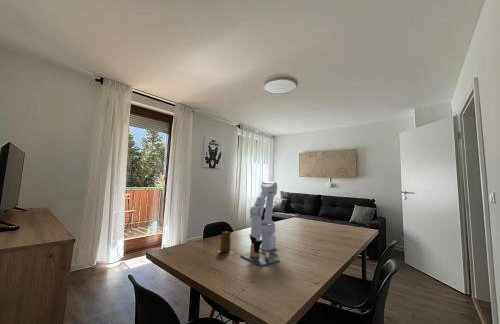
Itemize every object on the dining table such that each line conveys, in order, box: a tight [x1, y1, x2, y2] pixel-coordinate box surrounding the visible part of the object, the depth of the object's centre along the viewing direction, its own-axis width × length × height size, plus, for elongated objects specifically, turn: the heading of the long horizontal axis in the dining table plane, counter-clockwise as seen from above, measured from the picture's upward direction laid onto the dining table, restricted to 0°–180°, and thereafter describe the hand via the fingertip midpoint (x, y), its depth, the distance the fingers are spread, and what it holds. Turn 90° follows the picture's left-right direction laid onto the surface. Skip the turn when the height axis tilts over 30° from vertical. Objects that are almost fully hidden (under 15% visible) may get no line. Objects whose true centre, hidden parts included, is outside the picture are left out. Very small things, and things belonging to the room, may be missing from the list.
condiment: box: [216, 231, 234, 256], centre depth 130 cm, size 7×8×12 cm
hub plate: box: [239, 251, 281, 268], centre depth 121 cm, size 14×18×5 cm
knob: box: [249, 243, 261, 257], centre depth 124 cm, size 5×5×6 cm
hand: (255, 250), depth 124 cm, fingers open, 7 cm apart
